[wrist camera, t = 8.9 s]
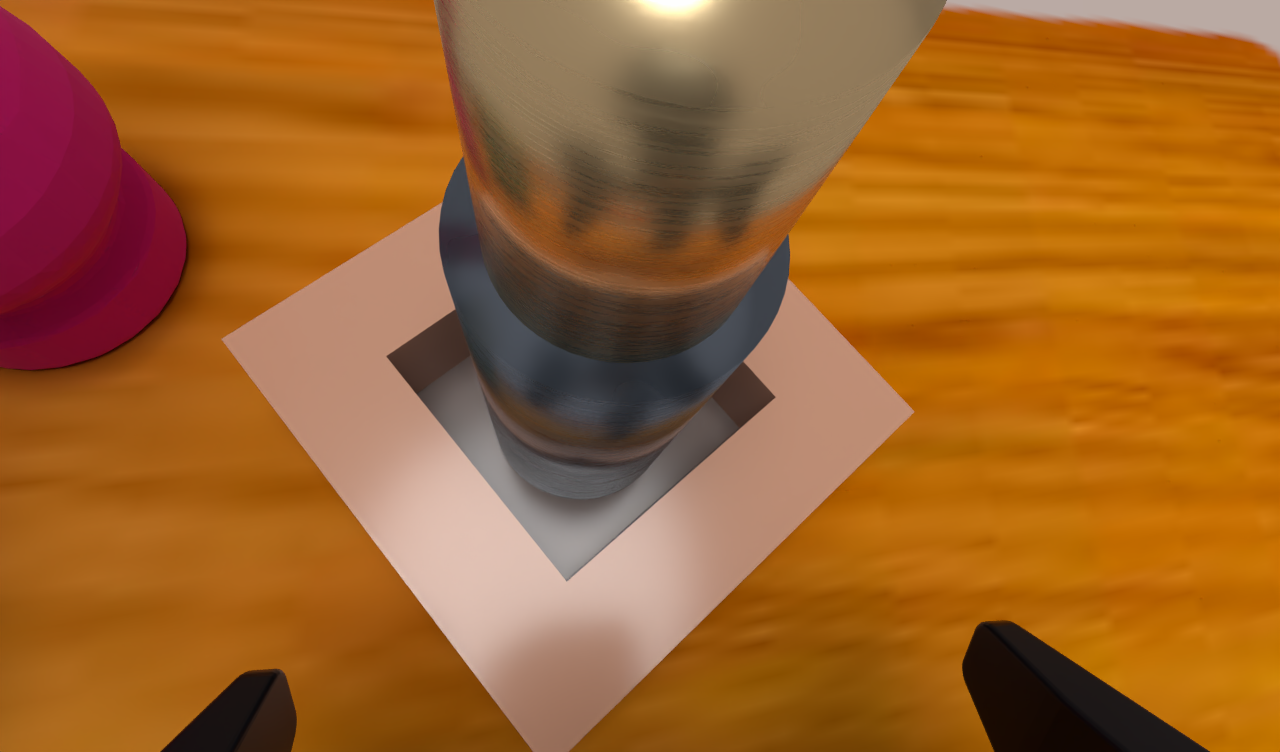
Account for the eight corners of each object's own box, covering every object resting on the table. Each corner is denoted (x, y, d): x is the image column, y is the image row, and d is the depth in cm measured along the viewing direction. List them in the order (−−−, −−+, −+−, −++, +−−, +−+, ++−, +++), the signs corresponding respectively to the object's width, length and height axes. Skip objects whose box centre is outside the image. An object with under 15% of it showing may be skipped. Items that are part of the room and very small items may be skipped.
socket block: (849, 441, 19) (914, 411, 15) (548, 731, 15) (548, 771, 12) (604, 175, 20) (614, 95, 17) (285, 386, 17) (221, 339, 14)
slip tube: (699, 425, 18) (1147, -34, 5) (569, 537, 16) (672, 343, 3) (592, 303, 18) (712, -405, 5) (458, 401, 17) (163, -227, 4)
